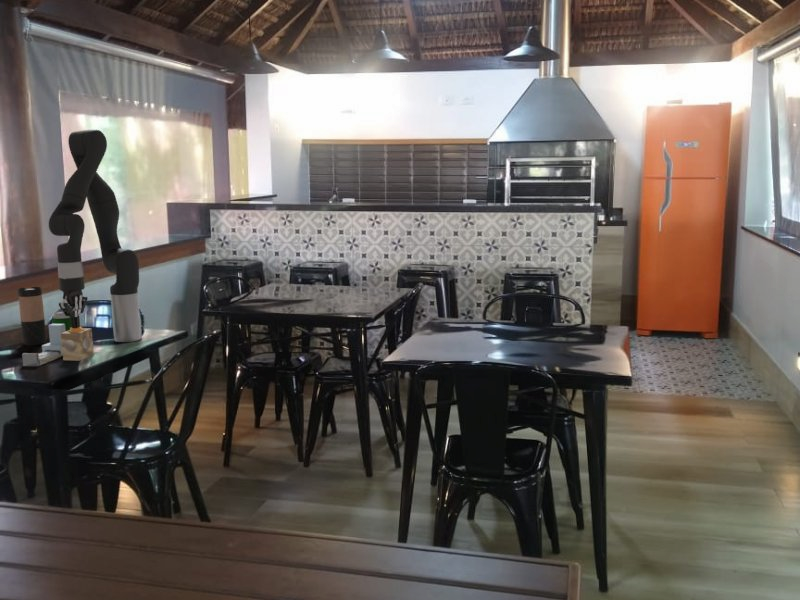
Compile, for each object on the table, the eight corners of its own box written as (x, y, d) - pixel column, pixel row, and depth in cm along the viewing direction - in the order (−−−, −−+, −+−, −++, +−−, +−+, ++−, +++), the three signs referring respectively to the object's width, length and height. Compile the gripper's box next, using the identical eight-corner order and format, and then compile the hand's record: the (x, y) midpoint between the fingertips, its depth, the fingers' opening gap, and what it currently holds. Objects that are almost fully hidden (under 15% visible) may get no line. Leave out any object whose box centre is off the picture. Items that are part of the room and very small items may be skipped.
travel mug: (37, 346, 267) (31, 290, 264) (18, 345, 269) (12, 289, 265) (51, 341, 275) (46, 286, 271) (32, 340, 276) (27, 286, 273)
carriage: (55, 349, 259) (52, 322, 257) (75, 349, 258) (73, 322, 256) (42, 354, 252) (39, 326, 250) (63, 354, 251) (60, 326, 249)
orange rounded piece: (75, 341, 252) (74, 326, 251) (85, 341, 251) (84, 326, 250) (69, 343, 248) (67, 328, 247) (79, 343, 248) (77, 328, 247)
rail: (65, 348, 263) (64, 337, 262) (78, 349, 262) (77, 338, 261) (23, 366, 241) (22, 353, 240) (37, 366, 240) (36, 354, 239)
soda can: (81, 344, 269) (78, 311, 266) (59, 348, 263) (56, 314, 261) (72, 341, 274) (69, 308, 272) (51, 345, 269) (48, 311, 267)
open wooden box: (77, 354, 255) (75, 328, 253) (94, 354, 254) (92, 328, 252) (62, 360, 247) (60, 333, 245) (80, 361, 246) (78, 334, 244)
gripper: (72, 272, 253) (77, 323, 256) (48, 278, 240) (53, 331, 243) (93, 272, 252) (97, 323, 255) (69, 278, 239) (74, 332, 242)
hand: (75, 327), depth 249 cm, fingers closed
